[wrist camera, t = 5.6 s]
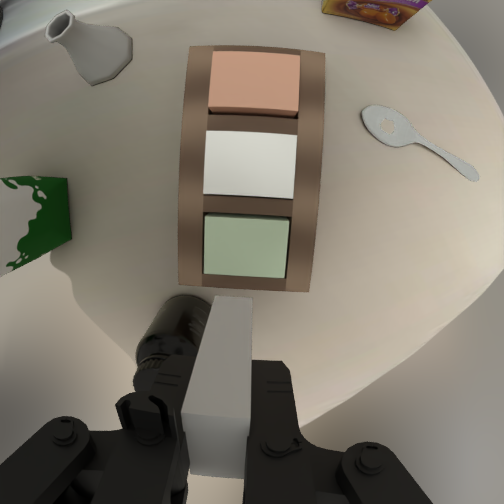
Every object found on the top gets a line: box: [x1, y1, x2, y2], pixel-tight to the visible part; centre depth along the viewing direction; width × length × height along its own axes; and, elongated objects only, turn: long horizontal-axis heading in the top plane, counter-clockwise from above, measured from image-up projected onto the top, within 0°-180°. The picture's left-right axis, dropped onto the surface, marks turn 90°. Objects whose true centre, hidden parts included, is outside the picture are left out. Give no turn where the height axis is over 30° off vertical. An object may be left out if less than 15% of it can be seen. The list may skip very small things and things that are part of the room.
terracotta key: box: [208, 51, 300, 119], centre depth 22 cm, size 5×7×4 cm
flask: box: [45, 10, 132, 86], centre depth 20 cm, size 7×7×10 cm
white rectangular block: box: [203, 131, 297, 199], centre depth 24 cm, size 5×7×4 cm
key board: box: [178, 45, 325, 292], centre depth 26 cm, size 22×12×4 cm, turn 177°
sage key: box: [204, 212, 289, 278], centre depth 27 cm, size 5×7×4 cm
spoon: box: [362, 105, 479, 182], centre depth 27 cm, size 4×21×2 cm, turn 73°
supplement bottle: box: [133, 295, 211, 392], centre depth 27 cm, size 7×7×12 cm
